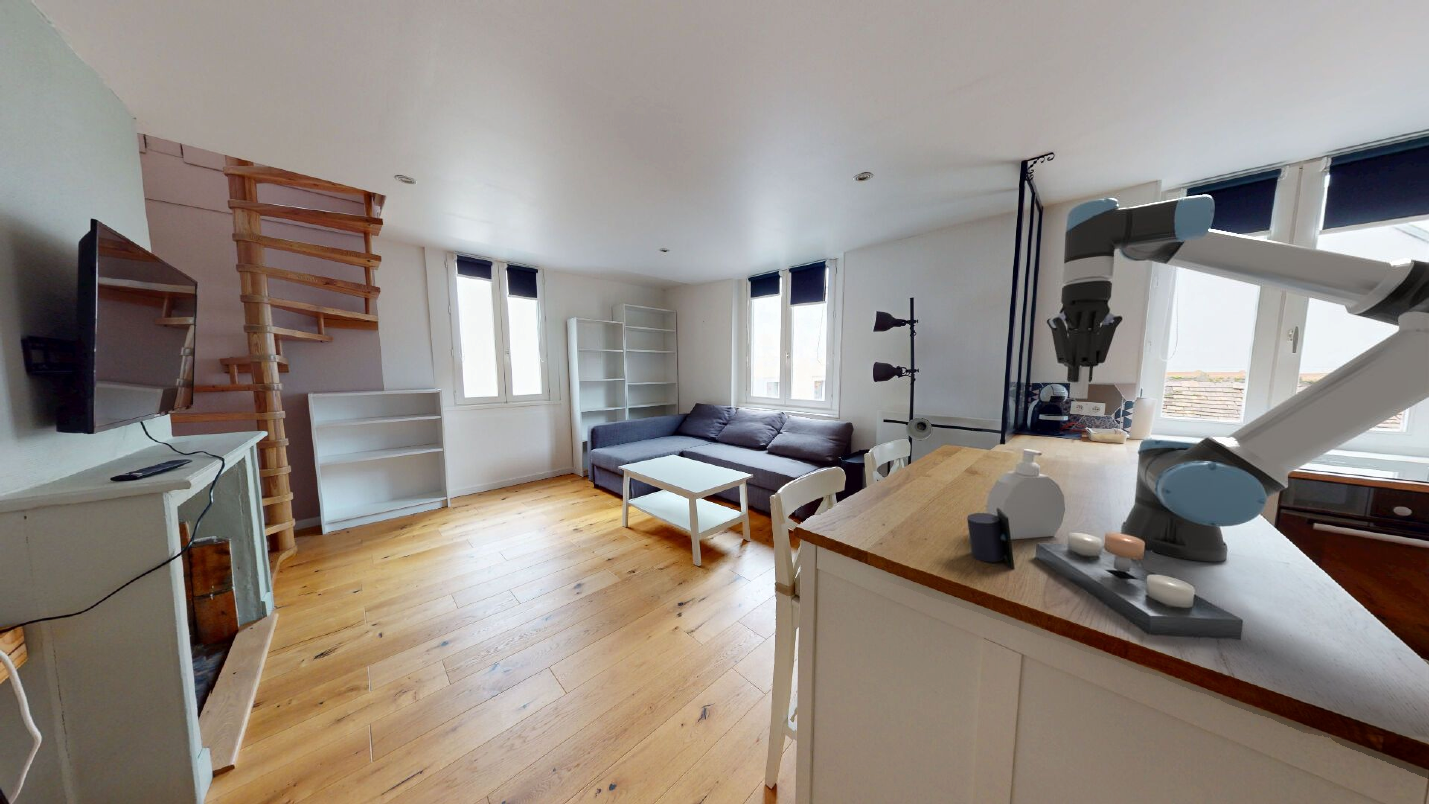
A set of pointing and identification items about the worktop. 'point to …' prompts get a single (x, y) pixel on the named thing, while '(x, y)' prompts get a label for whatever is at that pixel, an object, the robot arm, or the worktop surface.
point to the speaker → (990, 537)
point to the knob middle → (1124, 549)
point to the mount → (1138, 596)
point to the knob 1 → (1085, 544)
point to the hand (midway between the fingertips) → (1078, 397)
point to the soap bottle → (1028, 500)
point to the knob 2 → (1170, 591)
